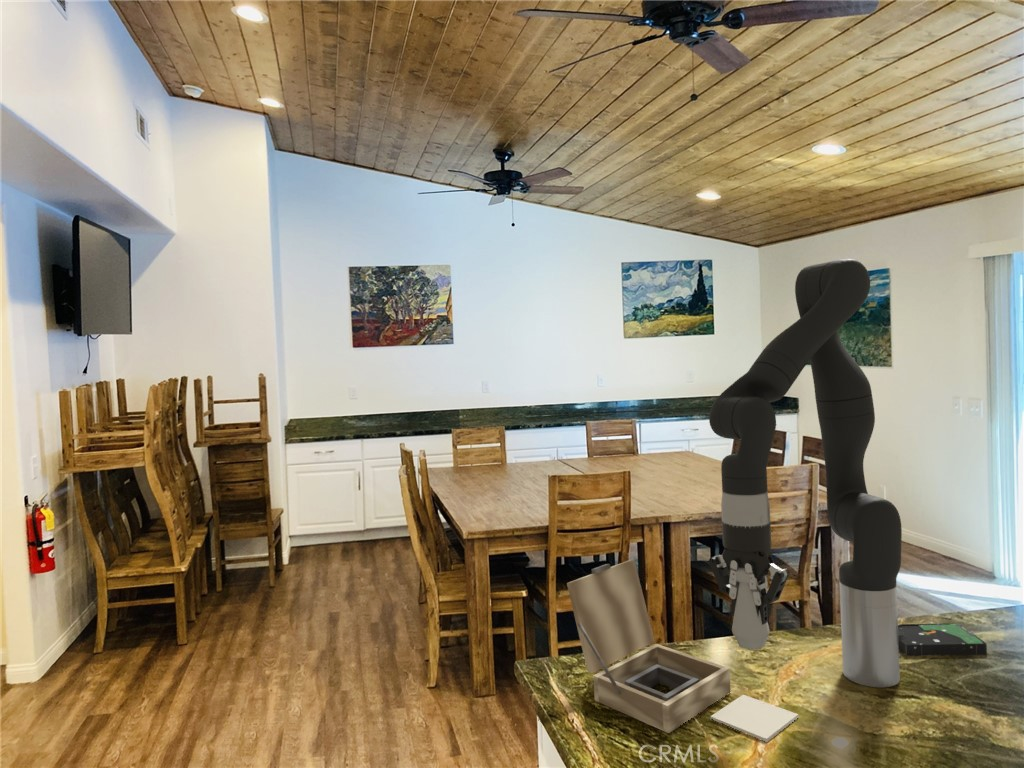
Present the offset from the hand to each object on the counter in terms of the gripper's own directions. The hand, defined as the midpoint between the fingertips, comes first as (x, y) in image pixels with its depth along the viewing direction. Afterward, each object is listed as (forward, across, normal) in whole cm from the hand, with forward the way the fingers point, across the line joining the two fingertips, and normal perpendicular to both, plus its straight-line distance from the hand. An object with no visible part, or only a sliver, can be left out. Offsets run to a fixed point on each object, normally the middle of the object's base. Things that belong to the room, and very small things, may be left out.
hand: (749, 622), depth 116 cm
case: (+16, +17, +5) cm, 24 cm away
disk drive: (+17, -11, -49) cm, 52 cm away
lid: (+3, +26, +4) cm, 26 cm away
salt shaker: (+4, 0, 0) cm, 4 cm away
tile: (+16, 0, 0) cm, 16 cm away
